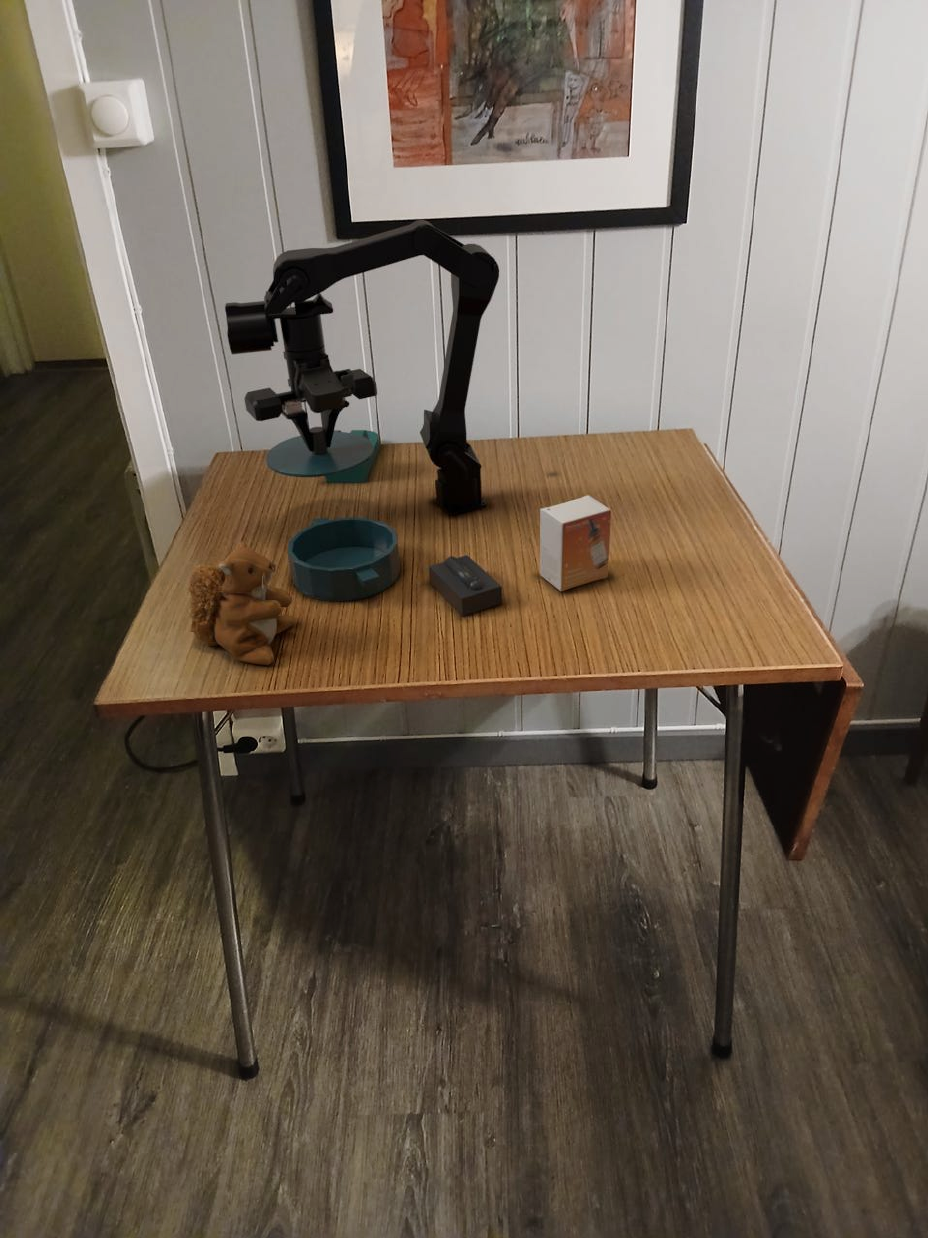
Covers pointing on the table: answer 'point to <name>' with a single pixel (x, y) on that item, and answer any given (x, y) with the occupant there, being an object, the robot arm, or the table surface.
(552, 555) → the small box
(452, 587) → the dark grey block
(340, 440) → the lid
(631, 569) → the table surface
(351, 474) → the bracket
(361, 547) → the pot
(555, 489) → the table surface
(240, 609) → the stuffed squirrel
